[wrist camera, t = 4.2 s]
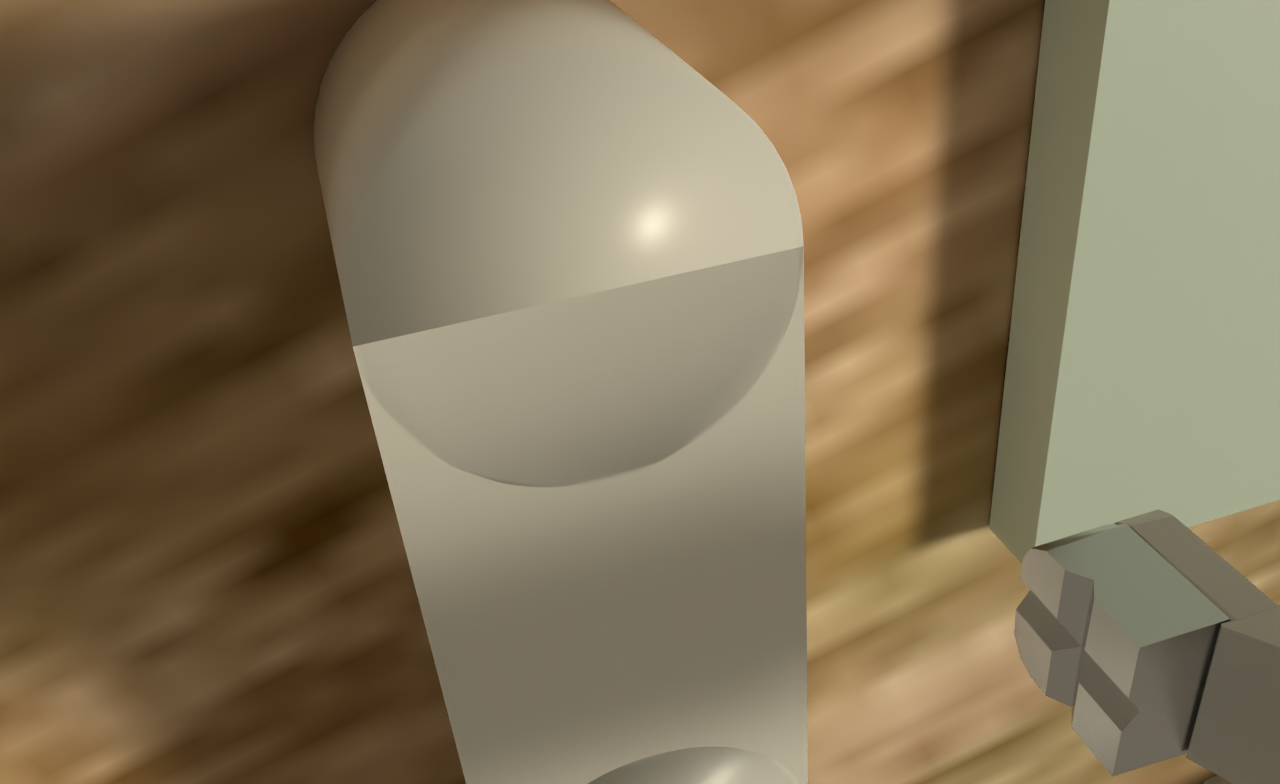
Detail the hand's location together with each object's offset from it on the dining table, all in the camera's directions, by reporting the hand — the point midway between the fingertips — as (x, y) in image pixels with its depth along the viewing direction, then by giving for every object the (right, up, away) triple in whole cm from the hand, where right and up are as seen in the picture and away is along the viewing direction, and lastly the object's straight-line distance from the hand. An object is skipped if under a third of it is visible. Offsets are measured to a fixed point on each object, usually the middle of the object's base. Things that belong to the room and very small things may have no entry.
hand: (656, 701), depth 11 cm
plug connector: (-1, +1, +5) cm, 5 cm away
